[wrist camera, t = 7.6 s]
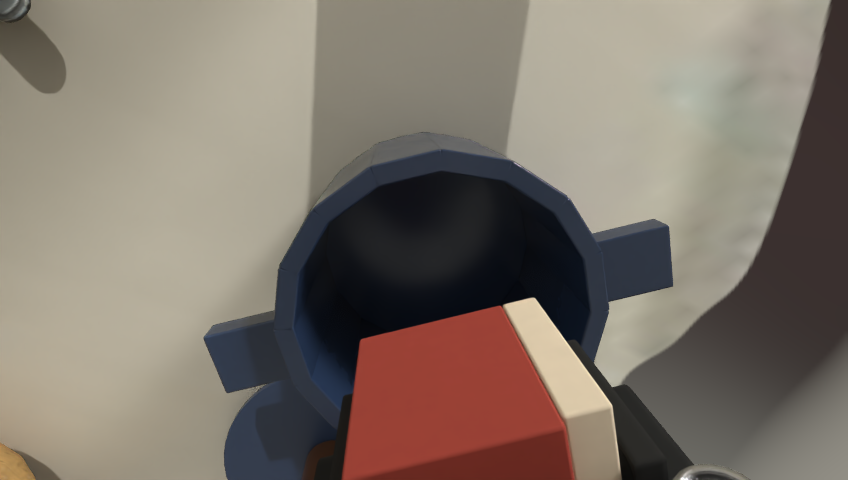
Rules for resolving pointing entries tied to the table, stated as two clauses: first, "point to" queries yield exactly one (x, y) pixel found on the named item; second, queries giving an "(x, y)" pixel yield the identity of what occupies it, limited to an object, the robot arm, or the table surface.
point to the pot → (430, 264)
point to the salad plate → (13, 10)
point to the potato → (13, 466)
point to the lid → (277, 436)
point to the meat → (478, 403)
